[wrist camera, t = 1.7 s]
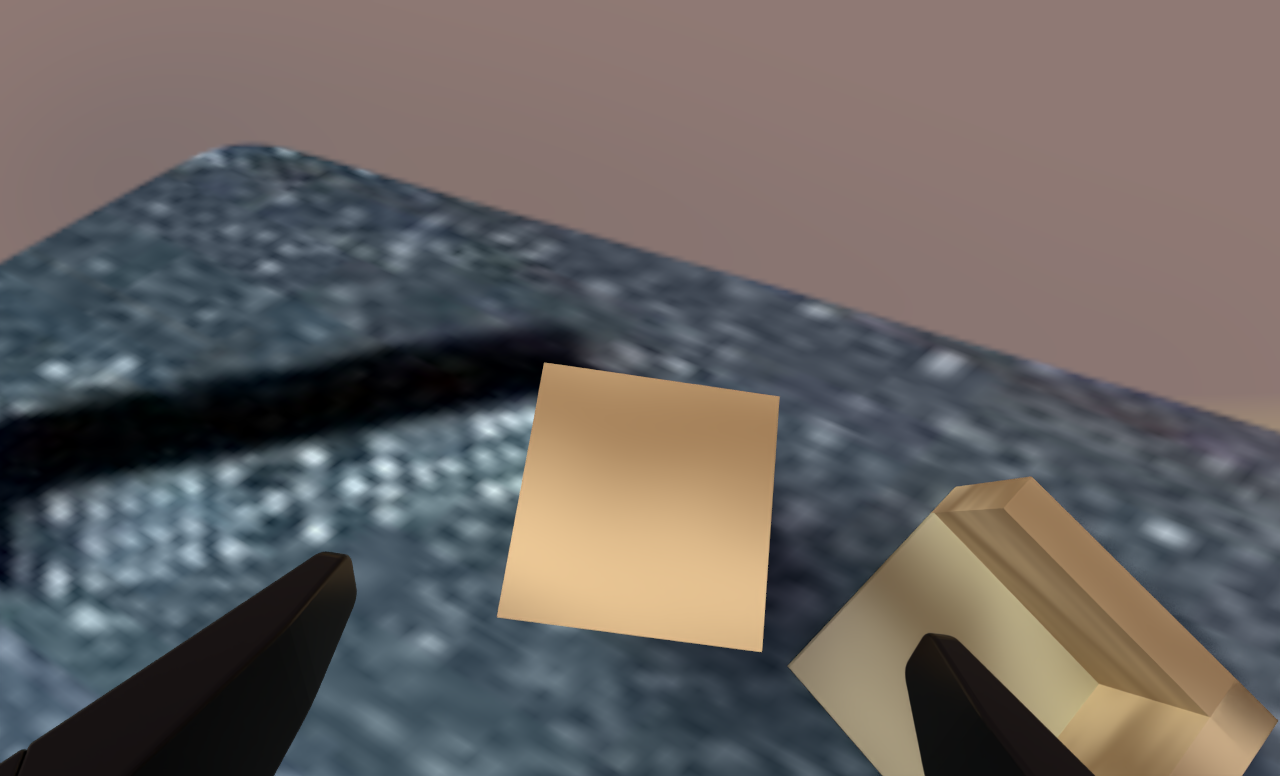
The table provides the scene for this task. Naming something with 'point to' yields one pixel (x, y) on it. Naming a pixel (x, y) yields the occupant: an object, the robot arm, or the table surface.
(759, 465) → the maple block
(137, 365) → the table surface
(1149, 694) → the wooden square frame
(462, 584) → the table surface
